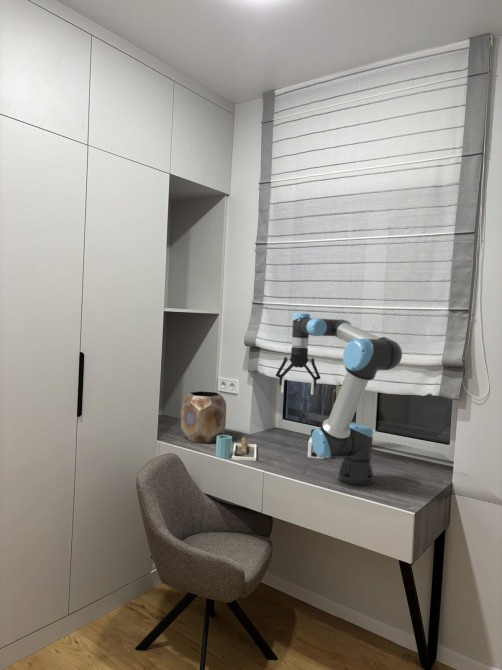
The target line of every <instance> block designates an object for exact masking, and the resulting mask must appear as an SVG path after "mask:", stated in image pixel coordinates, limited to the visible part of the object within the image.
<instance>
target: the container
mask: <svg viewBox="0 0 502 670" xmlns="http://www.w3.org/2000/svg"><path fill="white" fill-rule="evenodd" d="M315 429H316V428H313V429H311V430H310V437H309V440H308V442H307V443H308V445H307V458H311V459H317V460H318V459H321V460H324V459H325V458H321V457H319V456H318V455H317V454H316V453H315V451H314V449H313V446H312V441H311V437H312V433H313V431H314V430H315Z"/></svg>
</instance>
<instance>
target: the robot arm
mask: <svg viewBox="0 0 502 670" xmlns="http://www.w3.org/2000/svg"><path fill="white" fill-rule="evenodd" d="M310 336H314V337H336V338H338V339H340V340H342V341H344V342H346V343H347V344H346V346H345V347H344V350H343V354H342V356H343V359H342V360H343V361H342V362H343V364H344V369H345V372H346V375H345V377H344V379H343V380H344V381H343V384H342V386H341V389H340V391H339V394H338V396H337V399H336V401H335V404H334V406H333V407H332V410H331V412H330V414H329V417H328V418H326V419H325V420H323V422H322V424H321V426H320V428H314V429H315V430H314V431H313V433H312V437H311V436H310V438H311V441H312V446H313V449H314V451H315V453H316V454H317V455H318V456H319V457H321V458H324V459H330V458H331V459H332V458H339V457H341V458H342V460H341V462H340V465H339V467H338V469H337V474H336V475H337V479H338V480H339V481H341V482H343V483H346V484H350V485H356V486H357V485H358V486H368V485H373V483H374V482H375V474H374V470H373V465H372V452H373V451H372V450H373V439H374V435H373V434H374V432H373V429H372V427H370V426H367V425H364V424H361V423H360V424H359V423H355V422H352V420H353V419H354V416H355V413H356V412H357V409H358V407H359V404H360V402H361V399H362V397H363V395H364V393H365V390H366V387H367V385H368V384H369V381H373V380H374V379H375V377H376V374H377V373H378V371H389V370H393V369H395V368H396V367H397V366H398V365H400V363H401V361H402V358H403V350H402V348H401V346H400V345H399V343H397V342H396V341H395V340H393V339H390V338H388V337H384V336H382V337H380V336H377V335H375V334H373V333H370V332H368V331H365V330H363V329H361V328H360V327H359V328H358V327H357V326H354V325H352V323H351V322H350V321H349V320H348V319H347V320H346V319H337V318H336V319H335V318H334V319H332V318H331V319H330V318H318V317H317V318H316V317H312V318H311V314H310V313H307V312H305V313H304V312H295V313H294V314H293V320H292V336H291V338H292V339H291V346H292V347H291V350H290V352H291V353H290V357H287V356H284V357H283V361H282V363H281V365H280V366H279V368H278V369H277V371H276V373H275V376H276V378H279V381H278V384H279V386H281V388H280V390H281V391H280V393H281V394H283V393H284V382H285V378H284V377H285V375H287V373H288V372H289V371H291V369H292V368H293V367H294V368H301V369H302V368H305V370H306V372H308V374H309V375H310V376H311V378H312V379H311V383H310V384H311V385H310V395H312V396H313V395H314V388H316V387H317V381H318V380H320V379H322V378H321V375H320V373H319V371H318V369H317V366H316V364H315V363H316V362H315V358H314V357H311V358H308V356H309V355H308V354H309V352H308V351H309V348H308V347H309V341H310V340H309V339H310ZM289 361H290V364H289V365H288V367H287V368H286V369H285V370H284V371H283V372H282V370H283V369H284V367H285V366H286V364H287V363H288V362H289ZM308 362H309V363H310V364H311V366H312V368H313V371H314V372H315V374H314V373H313V372H312V371H311V369H310V368H309V366H308V365H307V363H308ZM315 375H316V376H315Z"/></svg>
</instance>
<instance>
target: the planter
mask: <svg viewBox="0 0 502 670" xmlns="http://www.w3.org/2000/svg"><path fill="white" fill-rule="evenodd" d="M180 418H181V419H180V428H181V430H182V432H183V434H184V437H187V438H186V439H187V440H189V441H190V442H192V443H201V444H210V443H215V442H216V440H217V436H218V435H225V430H226V423H227V401H226V400H225V398H224V397H223V395H222V394H220V393H218V392H217V391H201V390H200V391H192V392H191V391H190V392H188V393H187V394H186V395H185V396H184V398H183V401H182V406H181V417H180Z"/></svg>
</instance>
